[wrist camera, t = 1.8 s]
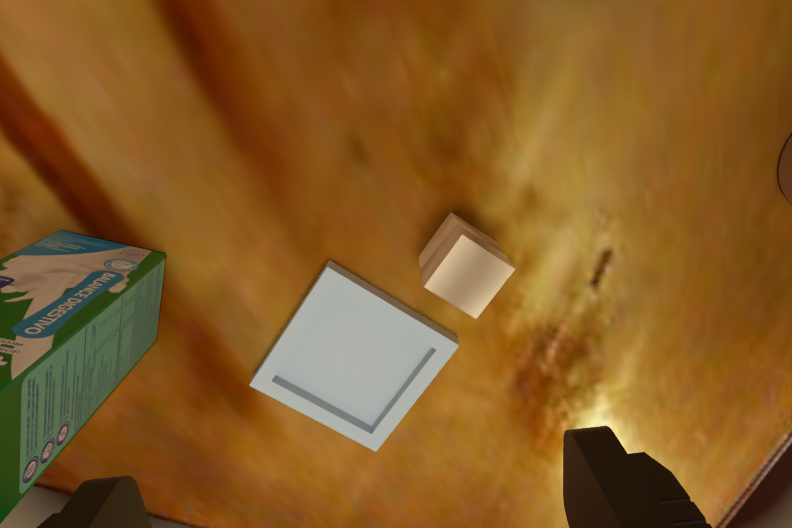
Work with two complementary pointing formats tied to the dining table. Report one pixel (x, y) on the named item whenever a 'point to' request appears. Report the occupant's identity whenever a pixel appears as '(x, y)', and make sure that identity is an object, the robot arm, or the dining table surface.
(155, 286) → the milk carton
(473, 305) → the maple block
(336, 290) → the tray
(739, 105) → the dining table surface
